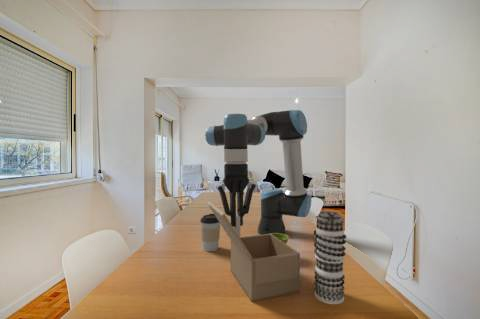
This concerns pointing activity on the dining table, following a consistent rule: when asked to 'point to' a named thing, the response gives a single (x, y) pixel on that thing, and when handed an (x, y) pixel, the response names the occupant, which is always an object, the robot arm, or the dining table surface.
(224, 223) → the flap
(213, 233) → the coffee cup
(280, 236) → the plant pot
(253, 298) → the carton
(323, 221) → the decorative candle
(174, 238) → the dining table surface
